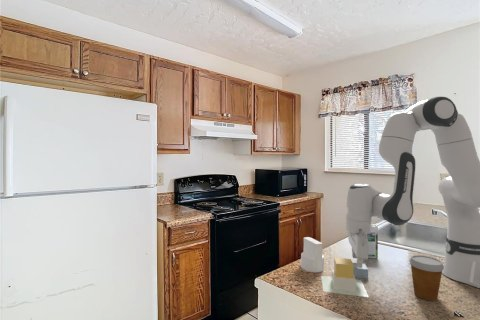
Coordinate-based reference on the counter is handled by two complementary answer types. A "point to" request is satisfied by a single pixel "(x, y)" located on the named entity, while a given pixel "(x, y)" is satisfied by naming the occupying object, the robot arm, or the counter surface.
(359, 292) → the plate
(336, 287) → the base brick
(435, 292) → the disposable coffee cup
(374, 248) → the syrup box
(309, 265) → the cylinder with rectangular tab
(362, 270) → the slate brick
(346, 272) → the mustard brick
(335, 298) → the counter surface
